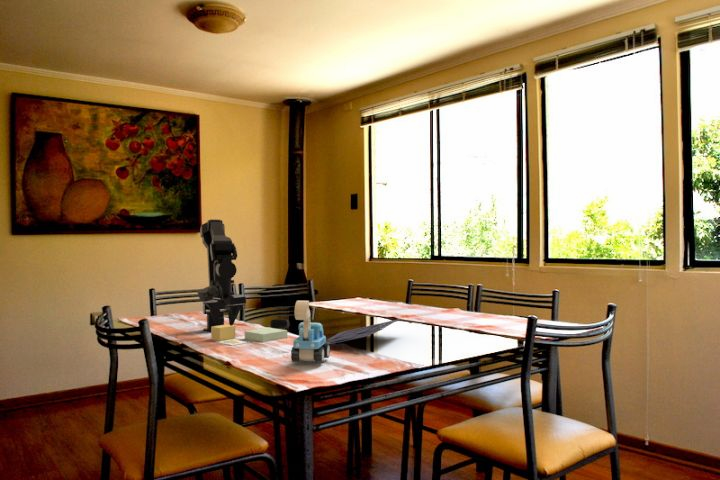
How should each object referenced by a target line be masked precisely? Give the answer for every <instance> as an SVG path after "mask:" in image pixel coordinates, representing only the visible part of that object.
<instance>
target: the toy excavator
mask: <svg viewBox="0 0 720 480" xmlns="http://www.w3.org/2000/svg"><path fill="white" fill-rule="evenodd" d="M309 307H310V300H296V302H295V305H294V318H295V320H296V321H297V320H298V321H302V322H300V323H299V324H298V337H296V338H295V339H293V341H292V342H293V343H292V345H293V346H292V347H291V350H290V352H291V353H290V360H291V362H292V363H299V362H300V360H301V361H314V363H323V362H324V361H325V359H329V358H330V353H331V349H330V348H331V346H330V345H331V344H330V345H329V344H328V343H326V340H327V337H326V335H324V328H323V327H324V326H323V324H322V323H320V322H311V310H310V308H309Z"/></svg>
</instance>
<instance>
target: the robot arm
mask: <svg viewBox="0 0 720 480" xmlns="http://www.w3.org/2000/svg"><path fill="white" fill-rule="evenodd" d="M199 231H200V232H199V235H200V238H201V239H202V244H203V246H204V247H205V248H206V255H207V273H208V286H207V287H204V288H202V289H200V290H198V291H197V294H198V298H199V301H200V302H202V314H203V315H206V327H205V328H203V331H208V332H211V327H212V326H220V325H225V314H227V315H228V325H230V326H231V325H233V326H234V324H235V321H236V320H237V317H238V315H239V313H240V311H241V310H242V308H243V307H244V306H245V304H247V296H246V295H245V294H241V293H239V294H235V291H232V287H233V286H232V284H234V283H235V279H232V278H234V277H235V275H236V274H237V269H238V268H237V266H236V265H235V263H234V262H232V261H237V258H238V250H237V247H236V245H235V242H233V240H232V238H230V237H229V236H226V231H225V224H224V223H223V220H222V219H216V218H215V219H209V220H208V219H207V222H205V223H202V224H201V226H200V230H199Z"/></svg>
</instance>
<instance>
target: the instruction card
mask: <svg viewBox="0 0 720 480" xmlns="http://www.w3.org/2000/svg"><path fill="white" fill-rule="evenodd" d="M217 344H221V345H225V346H231V347H232V346H238V345H244V344H248V342H247V341H243V340H237V339H231V340H225V341H217Z"/></svg>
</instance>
